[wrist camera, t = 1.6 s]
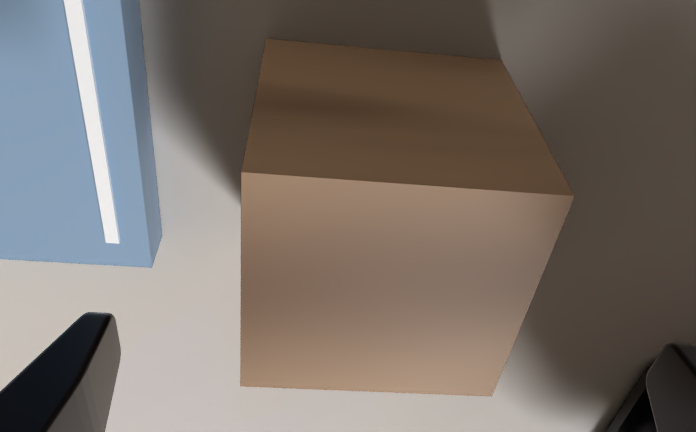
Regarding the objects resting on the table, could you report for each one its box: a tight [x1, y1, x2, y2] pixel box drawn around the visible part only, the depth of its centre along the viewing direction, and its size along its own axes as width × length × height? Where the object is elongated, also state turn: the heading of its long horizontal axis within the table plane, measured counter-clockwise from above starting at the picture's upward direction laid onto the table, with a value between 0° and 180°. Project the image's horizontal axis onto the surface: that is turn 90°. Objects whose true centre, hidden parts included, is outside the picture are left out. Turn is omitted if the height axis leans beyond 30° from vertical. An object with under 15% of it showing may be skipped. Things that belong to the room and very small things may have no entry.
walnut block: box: [240, 39, 575, 396], centre depth 13 cm, size 5×5×5 cm
